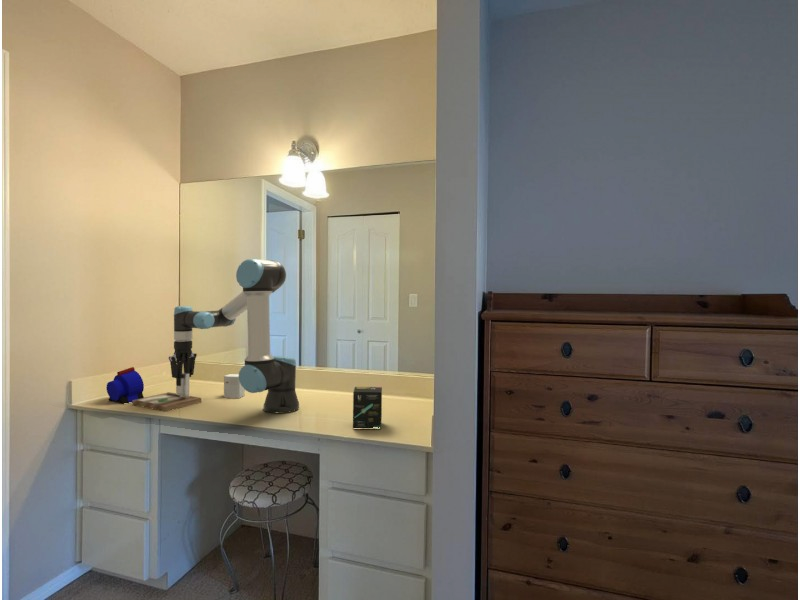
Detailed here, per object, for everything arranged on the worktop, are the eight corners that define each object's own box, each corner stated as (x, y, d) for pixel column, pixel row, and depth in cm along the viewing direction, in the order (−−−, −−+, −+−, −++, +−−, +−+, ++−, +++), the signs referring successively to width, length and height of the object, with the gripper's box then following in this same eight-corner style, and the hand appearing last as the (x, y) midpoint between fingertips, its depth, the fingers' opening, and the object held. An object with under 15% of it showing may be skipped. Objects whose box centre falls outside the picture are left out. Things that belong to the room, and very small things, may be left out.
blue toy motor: (145, 399, 210) (145, 367, 210) (119, 405, 199) (119, 371, 199) (129, 396, 216) (129, 365, 216) (102, 401, 205) (103, 368, 205)
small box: (244, 395, 221) (245, 374, 221) (239, 398, 216) (239, 376, 215) (229, 395, 222) (229, 373, 222) (223, 397, 216) (223, 375, 216)
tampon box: (381, 422, 181) (382, 386, 181) (381, 430, 172) (382, 391, 172) (354, 422, 181) (354, 386, 181) (352, 429, 172) (353, 391, 171)
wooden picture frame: (201, 402, 207) (201, 397, 207) (165, 411, 191) (166, 405, 191) (168, 396, 217) (168, 391, 217) (132, 404, 201) (132, 399, 201)
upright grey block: (189, 397, 205) (189, 373, 205) (185, 398, 203) (185, 374, 203) (170, 393, 211) (170, 370, 210) (165, 395, 209) (165, 371, 208)
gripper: (191, 338, 213) (191, 387, 214) (162, 341, 199) (162, 394, 200) (202, 339, 210) (202, 389, 210) (174, 342, 196) (173, 396, 197)
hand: (182, 392), depth 205 cm, fingers closed on upright grey block, 2 cm apart
